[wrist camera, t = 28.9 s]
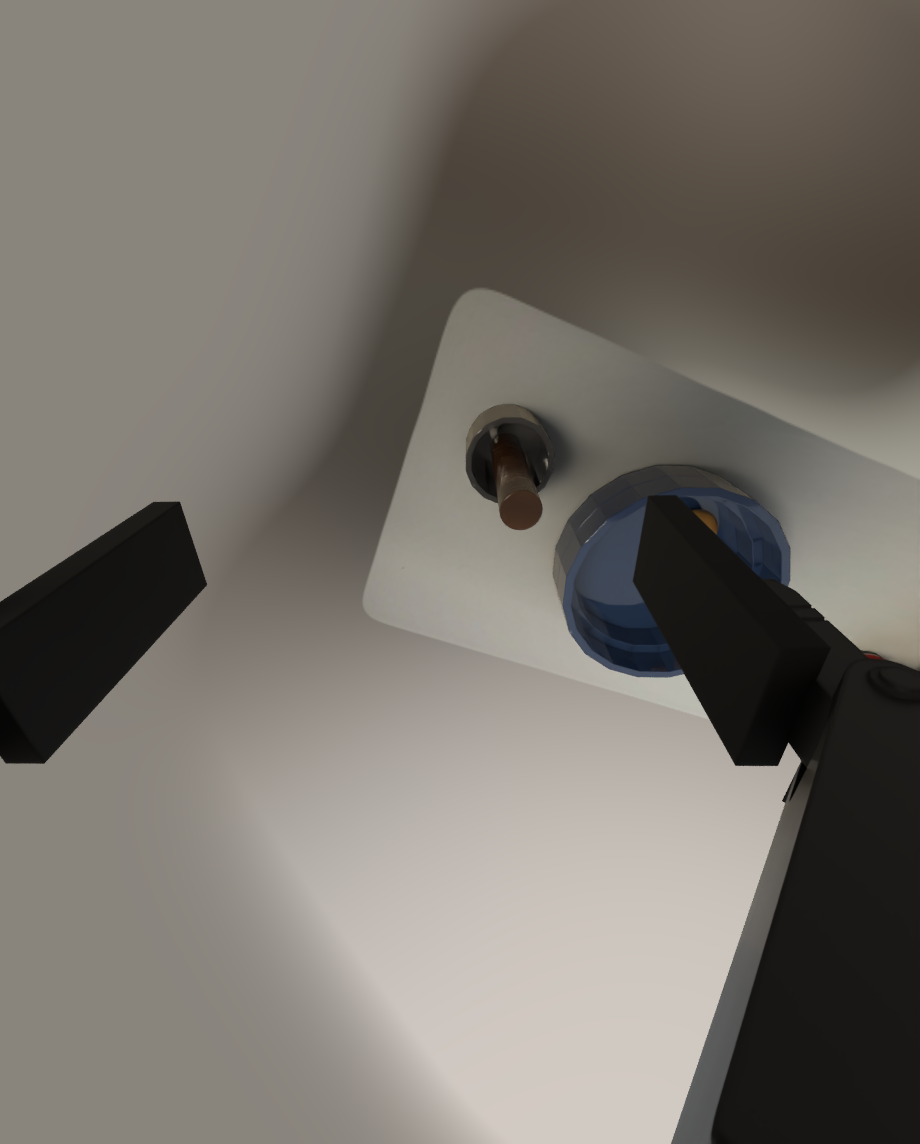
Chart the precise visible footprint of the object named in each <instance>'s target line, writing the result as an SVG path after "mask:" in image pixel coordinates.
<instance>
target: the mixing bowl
mask: <svg viewBox="0 0 920 1144" xmlns="http://www.w3.org/2000/svg"><path fill="white" fill-rule="evenodd" d="M648 495H677V496H678V497H679V498H680V499H681V500H682V501H683V502H684V503H685V504H686V505H687V506H688V507H689V508H690V509H691V510H694V509H703V510H706V511H709V512H710V513H712V514H713V515H714V516H715V518H716V519H717V522H718V532H717V536H718V537H719V538H720V539H721V540H722V541H723V542H724V543H725V544H726V545H727V546H728V547H729V548H730V549H731V550H732V551H733V552H734V553H735V554H736V555H737V556H739V557H740V558H741V559H742V560H743V561H744V562H745V563H746V564H747V565H748V566H749V567H750V568H751V569H752V570H753V571H754V572H755V573H756V574H757V575H758V576H759V577H760V578H761V579H774V580H776V581H778V582H780V583H782V584H784V585H785V586H787V587H788V584H789V582H790V546H789V544H788V542H787V540H786V537H785V535H784V533H783V530H782V528H781V526H780V524H779V521H778V520H777V519H776V518H774V517H773V516H772V515H771V514H770V513H769V512H768V511H766V510H765V509H764V508H763V507H762V506H761V505H760V504H759V503H757V502H756V501H755V500H754V499H752V498H751V497H749V496H748V495H747V494H745V493H744V492H742V491H741V490H739V489H738V488H736V487H735V486H733V485H732V484H730V483H729V482H728V481H726V480H725V479H723V478H722V477H720V476H717V475H715V474H712V473H709V472H706V471H703V470H700V469H698V468H695V467H692V466H653V467H650V468H646V469H643V470H639V471H636V472H632V473H629V474H625V475H622V476H620V477H619V478H617V479H615V480H614V481H612V482H611V483H609V484H607V485H606V486H604V487H602V488H601V489H599V490H598V491H596V492H594V493H593V494H592V495H590V496H589V497H588V499H587V500H586V501H585V502H584V503H583V504H582V505H581V506H580V507H579V508H578V510H577V511H576V512H575V513H574V514H573V515H572V516H571V517H570V518H569V519H568V522H567V524H566V526H565V528H564V530H563V532H562V534H561V536H560V538H559V541H558V543H557V545H556V548H555V557H554V566H553V578H554V581H555V585H556V589H557V593H558V597H559V600H560V604H561V607H562V610H563V613H564V617H565V620H566V623H567V626H568V630H569V632H570V634H571V635H572V637H573V638H574V639H575V641H576V642H577V643H578V645H579V646H580V647H581V649H582V650H583V652H584V653H585V654H586V655H588V656H589V657H591V658H593V659H594V660H596V661H597V662H599V663H600V664H602V665H603V666H605V667H606V668H608V669H610V670H614V671H617V672H621V673H624V674H628V675H632V676H635V677H667V678H668V677H673V676H678V675H682V674H684V673H683V671H682V669H681V667H680V665H679V664H678V662H677V660H676V658H675V656H674V655H673V653H672V651H671V649H670V647H669V646H668V644H667V642H666V640H665V639H664V637H663V635H662V633H661V631H660V630H659V628H658V626H657V624H656V622H655V621H654V619H653V617H652V615H651V613H650V612H649V610H648V608H647V606H646V605H645V603H644V601H643V599H642V597H641V596H640V594H639V592H638V590H637V588H636V587H635V585H634V583H633V576H634V571H635V565H636V560H637V554H638V549H639V543H640V537H641V532H642V526H643V521H644V515H645V510H646V504H647V498H648Z"/></svg>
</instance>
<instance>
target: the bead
mask: <svg viewBox="0 0 920 1144" xmlns="http://www.w3.org/2000/svg"><path fill="white" fill-rule="evenodd" d="M692 511H693V512H694V513H695V514H696V515H697V516H698V517H699V518H700V519H701V520H702V521H703V522H704V523H705V524H706V525H707V526H708V527H709V528H710V529H711V530H712V531H713V532H714V533H715V534H716V535H717V532H718V522H717V519H716V518H715V516H714V515H713V514H712V513H710V512H709V511H706V510H703V509H694V510H692Z"/></svg>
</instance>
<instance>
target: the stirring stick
mask: <svg viewBox="0 0 920 1144" xmlns="http://www.w3.org/2000/svg"><path fill="white" fill-rule="evenodd" d="M490 450H491V457H492V464H493V470H494V477H495V484H496V491H497V498H498V505H499V512H500V517H501V519H502V521H503V522H504V523H505V525H507V526H508V527H510V528H512V529H515V530H525V529H528V528H530V527H532V526H534V525H535V524H536V523H537V522H538V521H539V519H540V517H541V515H542V503H541V500H540V498H539V495H538V492H537V489H536V487H535V484H534V481H533V478H532V476H531V473H530V470H529V467H528V465H527V462H526V459H525V456H524V454H523V451H522V448H521V445H520V443H519V440H518V439H517V437H516V436H514V435H513V434H510V433H501V434H499V435H497V436H496V437H495V438H494V439H493V441H492V443H491V447H490Z"/></svg>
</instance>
